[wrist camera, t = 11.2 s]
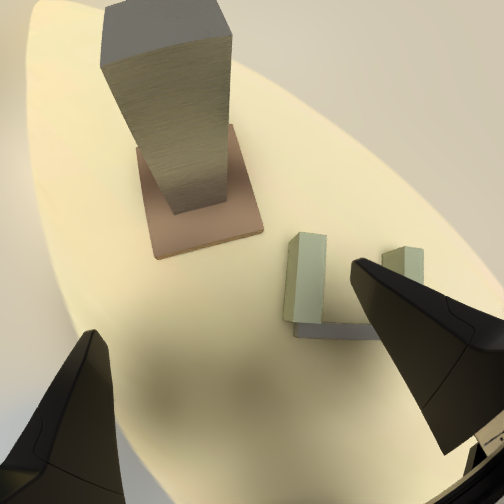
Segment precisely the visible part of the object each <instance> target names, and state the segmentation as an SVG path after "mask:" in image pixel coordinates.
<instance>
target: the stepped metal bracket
mask: <svg viewBox="0 0 504 504" xmlns="http://www.w3.org/2000/svg"><path fill="white" fill-rule="evenodd" d="M231 52H232V33H231V31H230V28H229V26H228V24H227V22H226V20H225V18H224V15H223V13H222V11H221V9H220V7H219V5H218V3H217V1H216V0H126V1H124V2H120V3H117V4H114V5H111V6H108V7H106V8H105V14H104V23H103V32H102V43H101V58H100V68H101V70H102V72H103V74H104V77H105V79H106V81H107V83H108V85H109V87H110V90H111V92H112V94H113V96H114V98H115V100H116V102H117V105H118V107H119V109H120V111H121V113H122V115H123V117H124V119H125V121H126V123H127V125H128V127H129V129H130V131H131V133H132V135H133V137H134V139H135V141H136V143H137V145H138V147H139V149H140V151H141V153H142V155H143V157H144V159H145V161H146V163H147V165H148V167H149V169H150V171H151V173H152V175H153V176H154V178H155V180H156V182H157V184H158V186H159V188H160V190H161V192H162V193H163V195H164V197H165V199H166V201H167V203H168V205H169V206H170V208H171V210H172V212H173V214H174V215H178V214H181V213H185V212H189V211H192V210H196V209H200V208H204V207H208V206H212V205H216V204H220V203H224V202H227V160H228V125H229V97H230V73H231Z"/></svg>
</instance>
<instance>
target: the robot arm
mask: <svg viewBox="0 0 504 504" xmlns="http://www.w3.org/2000/svg"><path fill="white" fill-rule="evenodd" d="M350 282H351V285H352V287H353V289H354V291H355V293H356V295H357V297H358V299H359V301H360V303H361V305H362V308H363V310H364V312H365V314H366V316H367V318H368V320H369V321H370V323H371V325H372V326H373V328H374V330H375V331H376V333H377V335H378V336H379V338H380V340H381V341H382V343H383V345H384V346H385V348H386V350H387V351H388V353H389V355H390V356H391V358H392V360H393V362H394V363H395V365H396V367H397V368H398V370H399V372H400V374H401V375H402V377H403V379H404V381H405V383H406V384H407V386H408V388H409V390H410V391H411V393H412V395H413V397H414V399H415V401H416V402H417V404H418V406H419V408H420V410H421V412H422V414H423V416H424V418H425V420H426V421H427V423H428V425H429V427H430V429H431V431H432V433H433V435H434V437H435V439H436V441H437V443H438V445H439V447H440V449H441V451H442V453H443V454H444V456H445V455H446V454H448V453H449V452H451V451H452V450H454V449H455V448H457V447H458V446H459V445H461V444H462V443H464V442H465V441H466V440H468V439H469V438H470V437H472V436H473V435H474V436H475V437H476V439H477V441H478V442H477V443H476V444H475V445H474V446H472V447H471V448H470V451H469V455H468V459H467V463H466V467H465V471H464V474H463V478H461V479H460V480H459V481H457V482H456V483H455V484H453V485H452V486H451V487H449V488H448V489H446V490H445V491H443V492H442V493H441V494H439V495H438V496H436V497H435V498H433V499H432V500H430V501H428V502H427V503H425V504H504V320H502V319H499V318H497V317H494V316H492V315H489V314H487V313H484V312H482V311H479V310H477V309H474V308H472V307H470V306H467V305H465V304H463V303H461V302H458V301H456V300H454V299H452V298H450V297H448V296H445V295H444V294H441V293H439V292H437V291H435V290H433V289H431V288H429V287H427V286H425V285H423V284H420V283H418V282H416V281H414V280H412V279H410V278H408V277H405V276H403V275H401V274H399V273H397V272H394V271H392V270H390V269H388V268H386V267H383V266H381V265H379V264H377V263H375V262H372V261H370V260H368V259H366V258H359V259H356V260H353V261H352V264H351V274H350ZM123 495H124V493H123V486H122V480H121V473H120V466H119V458H118V449H117V440H116V429H115V415H114V396H113V383H112V376H111V368H110V359H109V350H108V346H107V344H106V342H105V341H104V340H103V338H102V337H101V336H100V334H99V333H98V331H97V330H95V329H93V330H88V331H85V332H84V333H83V335H82V336H81V338H80V339H79V341H78V342H77V344H76V345H75V347H74V348H73V350H72V351H71V353H70V354H69V356H68V357H67V359H66V361H65V362H64V364H63V365H62V367H61V368H60V370H59V372H58V373H57V375H56V376H55V378H54V380H53V381H52V383H51V385H50V386H49V388H48V390H47V391H46V393H45V395H44V396H43V398H42V400H41V402H40V403H39V405H38V407H37V408H36V410H35V412H34V414H33V415H32V417H31V419H30V421H29V422H28V424H27V426H26V427H25V429H24V431H23V432H22V434H21V435H20V437H19V439H18V440H17V442H16V443H15V445H14V447H13V448H12V450H11V451H10V453H9V454H8V456H7V458H6V459H5V461H4V462H3V463H2V464H1V465H0V504H126V503H125V497H124V496H123Z"/></svg>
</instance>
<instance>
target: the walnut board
mask: <svg viewBox="0 0 504 504" xmlns="http://www.w3.org/2000/svg"><path fill="white" fill-rule="evenodd" d="M136 153H137V160H138V168H139V175H140V181H141V188H142V194H143V200H144V206H145V212H146V217H147V223H148V228H149V233H150V238H151V243H152V248H153V253H154V257H155V258H156V259H157V260H159V259H163V258H167V257H171V256H174V255H178V254H182V253H186V252H190V251H194V250H197V249H201V248H205V247H209V246H213V245H217V244H220V243H224V242H228V241H232V240H236V239H240V238H244V237H248V236H252V235H256V234H260V233H262V232H263V230H264V227H263V223H262V220H261V217H260V213H259V210H258V206H257V203H256V200H255V196H254V193H253V190H252V186H251V183H250V180H249V177H248V173H247V170H246V167H245V163H244V160H243V157H242V154H241V150H240V147H239V144H238V141H237V137H236V134H235V131H234V128H233V125H232V124H229V125H228V160H227V202H224V203H220V204H216V205H212V206H208V207H204V208H200V209H196V210H192V211H189V212H185V213H181V214H178V215H174V214H173V212H172V210H171V208H170V206H169V205H168V203H167V201H166V199H165V197H164V195H163V193H162V192H161V190H160V188H159V186H158V184H157V182H156V180H155V178H154V176H153V175H152V173H151V171H150V169H149V167H148V165H147V163H146V161H145V159H144V157H143V155H142V153H141V151H140V149H139V147H136Z"/></svg>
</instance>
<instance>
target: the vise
mask: <svg viewBox="0 0 504 504" xmlns="http://www.w3.org/2000/svg"><path fill="white" fill-rule="evenodd" d="M326 241H327V235H321V234H313V233H305V232H299V233H298V234H297V235H296V236H295V237H294V238H293V239H292V240H291V241H290V242H289V250H288V264H287V277H286V289H285V300H284V312H283V320H286V321H291V322H295V326H294V336H295V337H297V338H314V339H346V340H380V338H379V336H378V335H377V333H376V331H375V330H374V328H373V326H372V325H371V324H353V323H329V322H321V319H322V308H323V295H324V280H325V263H326ZM382 266H383V267H386V268H388V269H390V270H392V271H394V272H397V273H399V274H401V275H403V276H405V277H408V278H410V279H412V280H414V281H416V282H418V283H420V284H423V281H424V252H423V249H421V248H414V247H407V246H403V247H401V248H398V249H395V250H393V251H390V252H387V253H384V254H383V262H382Z"/></svg>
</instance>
